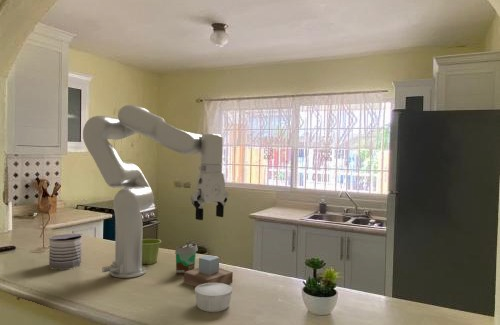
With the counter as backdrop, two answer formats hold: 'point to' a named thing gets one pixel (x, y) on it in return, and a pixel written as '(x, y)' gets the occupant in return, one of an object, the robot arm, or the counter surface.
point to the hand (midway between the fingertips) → (209, 218)
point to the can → (65, 251)
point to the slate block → (209, 264)
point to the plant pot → (150, 250)
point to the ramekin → (213, 296)
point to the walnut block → (207, 277)
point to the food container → (185, 257)
